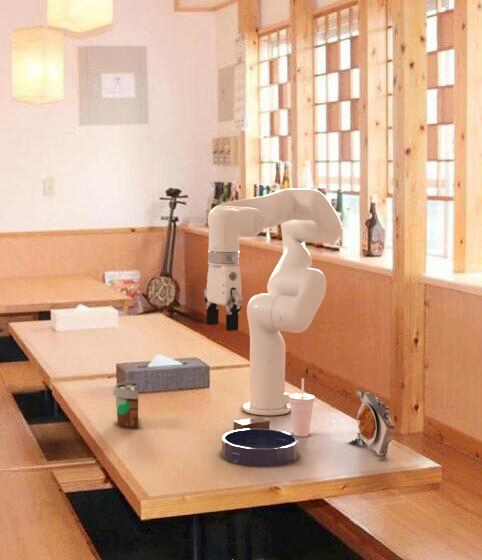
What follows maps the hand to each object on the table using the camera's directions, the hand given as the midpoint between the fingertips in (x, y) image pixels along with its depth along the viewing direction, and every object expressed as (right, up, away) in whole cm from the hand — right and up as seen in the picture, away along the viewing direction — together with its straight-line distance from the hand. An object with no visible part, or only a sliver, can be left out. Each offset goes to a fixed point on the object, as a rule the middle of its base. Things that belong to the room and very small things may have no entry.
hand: (221, 327), depth 260 cm
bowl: (+8, -29, -19) cm, 35 cm away
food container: (-24, -25, +8) cm, 36 cm away
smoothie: (+20, -27, -1) cm, 33 cm away
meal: (+34, -29, -14) cm, 47 cm away
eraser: (+7, -27, -3) cm, 28 cm away
